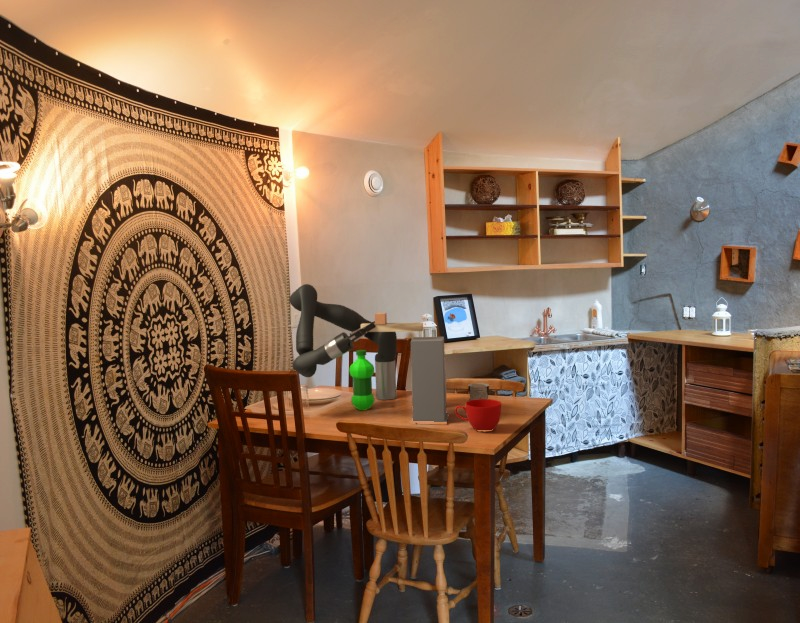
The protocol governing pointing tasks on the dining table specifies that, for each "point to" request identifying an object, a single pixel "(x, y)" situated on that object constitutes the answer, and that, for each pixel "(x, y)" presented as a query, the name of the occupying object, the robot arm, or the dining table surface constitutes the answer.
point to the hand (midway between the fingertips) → (375, 323)
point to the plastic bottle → (362, 382)
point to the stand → (428, 379)
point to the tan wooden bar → (395, 327)
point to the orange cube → (380, 318)
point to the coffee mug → (479, 383)
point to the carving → (478, 392)
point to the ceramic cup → (482, 413)
